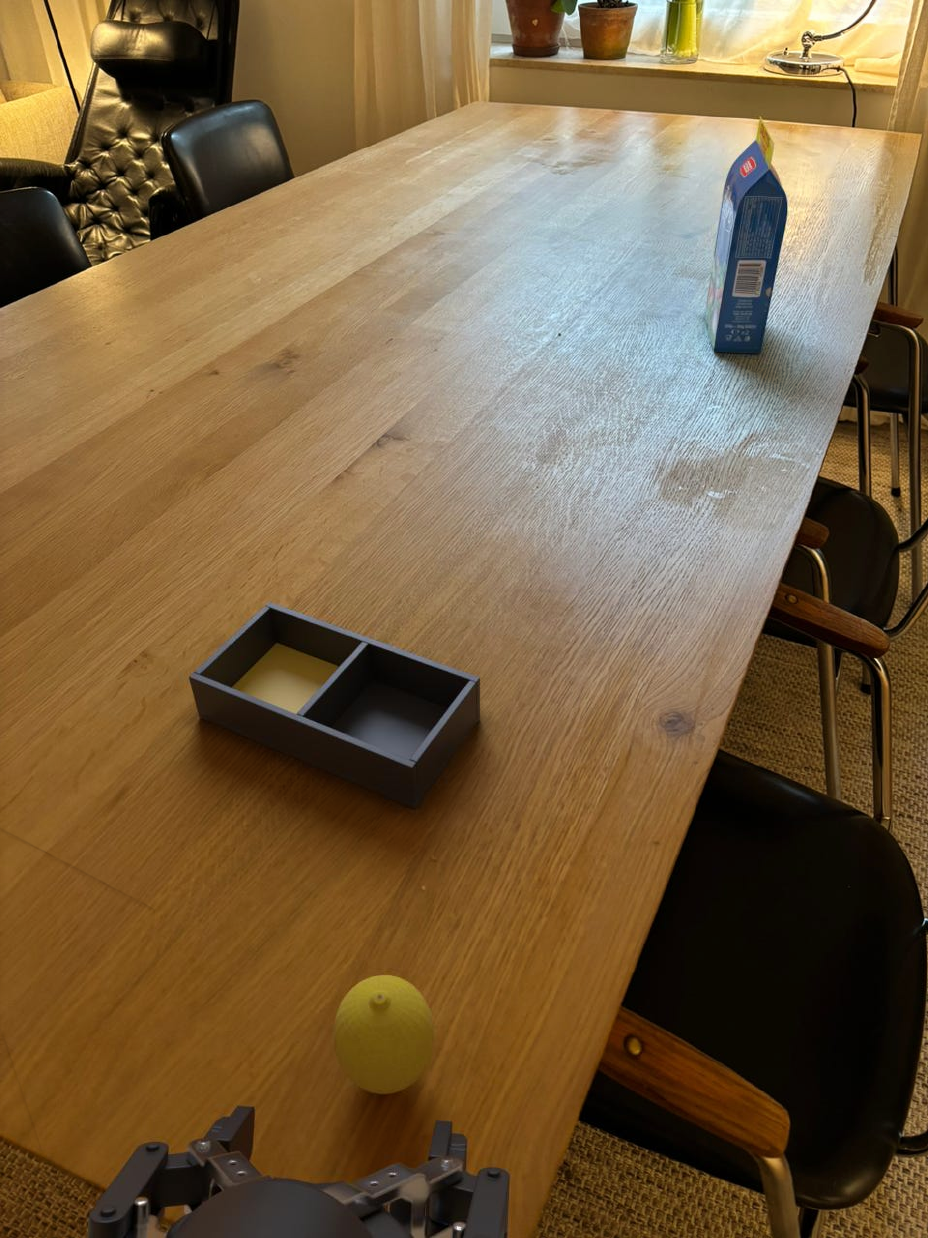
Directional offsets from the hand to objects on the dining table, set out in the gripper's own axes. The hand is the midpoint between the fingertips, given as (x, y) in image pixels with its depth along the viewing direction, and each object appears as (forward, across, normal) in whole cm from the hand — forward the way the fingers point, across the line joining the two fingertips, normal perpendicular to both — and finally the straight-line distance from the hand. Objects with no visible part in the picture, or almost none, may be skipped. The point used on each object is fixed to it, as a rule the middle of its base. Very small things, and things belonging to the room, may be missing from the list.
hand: (343, 1136), depth 42 cm
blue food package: (+86, -32, -68) cm, 115 cm away
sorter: (+34, +8, -17) cm, 39 cm away
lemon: (+15, 0, +3) cm, 15 cm away
